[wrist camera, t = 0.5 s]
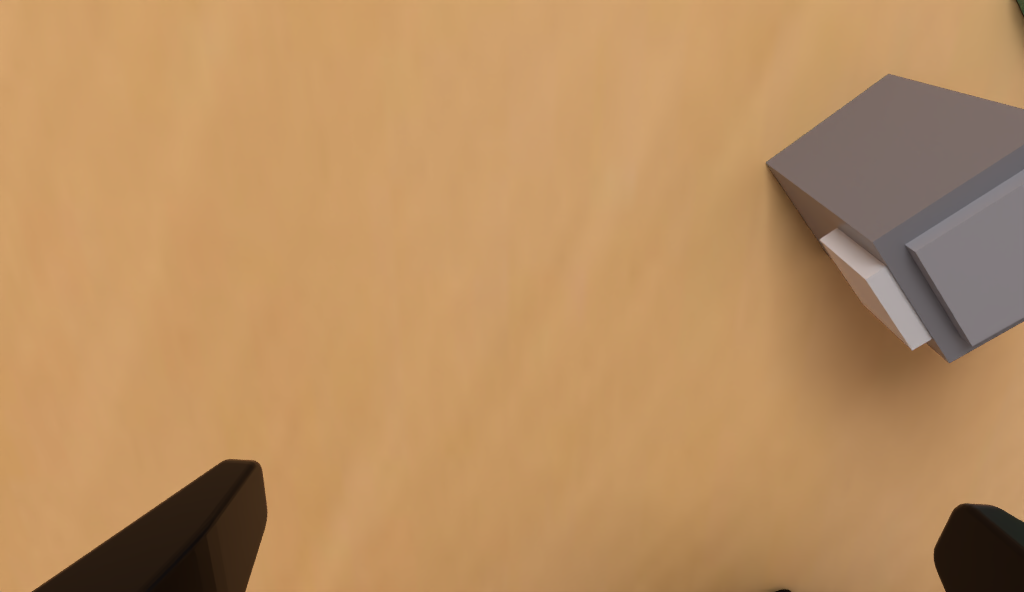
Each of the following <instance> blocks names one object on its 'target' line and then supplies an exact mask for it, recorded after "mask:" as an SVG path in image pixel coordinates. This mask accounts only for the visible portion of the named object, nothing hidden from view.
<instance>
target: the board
mask: <svg viewBox="0 0 1024 592" xmlns="http://www.w3.org/2000/svg"><path fill="white" fill-rule="evenodd" d="M1017 2H1018V4H1019V6H1020V8H1021V11H1022V13H1023V15H1024V0H1017Z"/></svg>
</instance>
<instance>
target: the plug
mask: <svg viewBox="0 0 1024 592" xmlns="http://www.w3.org/2000/svg"><path fill="white" fill-rule="evenodd" d="M766 164H767V165H768V167H769V168H770V170H771V171H772V173H773V174H774V176H775V177H776V179H777V180H778V182H779V183H780V185H781V186H782V188H783V189H784V191H785V192H786V194H787V195H788V197H789V198H790V200H791V201H792V203H793V204H794V206H795V207H796V209H797V210H798V212H799V213H800V215H801V216H802V218H803V219H804V220H805V222H806V223H807V225H808V226H809V228H810V229H811V231H812V232H813V234H814V235H815V237H816V238H817V240H818V241H819V243H820V244H821V246H822V247H823V249H824V250H825V252H826V253H827V255H828V256H829V257H830V258H832V259H833V261H834V262H835V264H836V265H837V267H838V268H839V270H840V271H841V273H842V274H843V276H844V277H845V279H846V280H847V282H848V283H849V285H850V286H851V288H852V289H853V291H854V292H855V293H856V295H857V296H858V298H859V299H860V301H861V302H862V304H863V305H864V306H865V307H866V308H868V309H869V310H870V311H871V312H872V313H873V314H874V315H875V316H876V317H877V318H878V319H879V320H880V321H881V322H882V323H883V324H885V325H886V326H887V327H888V328H889V329H890V330H891V331H892V332H893V333H894V334H895V335H896V336H897V337H898V338H899V339H900V340H902V341H903V342H904V343H905V344H906V345H907V346H908V347H909V348H910V349H911V350H914V349H916V348H917V347H919V346H921V345H922V344H924V343H927V344H928V345H929V346H930V347H932V348H933V349H934V350H935V351H936V352H937V353H938V354H939V355H941V356H942V357H943V358H944V359H945V360H946V361H947V362H948V363H951V362H952V361H954V360H956V359H958V358H960V357H961V356H963V355H965V354H967V353H968V352H970V351H972V350H974V349H975V348H977V347H979V346H981V345H983V344H984V343H986V342H988V341H990V340H991V339H993V338H995V337H997V336H999V335H1000V334H1002V333H1004V332H1006V331H1007V330H1009V329H1011V328H1013V327H1014V326H1016V325H1018V324H1020V323H1022V322H1023V321H1024V109H1021V108H1017V107H1013V106H1009V105H1005V104H1002V103H998V102H994V101H990V100H986V99H982V98H979V97H975V96H971V95H967V94H963V93H960V92H956V91H952V90H948V89H944V88H940V87H937V86H933V85H929V84H925V83H921V82H917V81H914V80H910V79H906V78H902V77H898V76H895V75H891V74H888V75H886V76H885V77H883V78H882V79H881V80H879V81H878V82H877V83H875V84H874V85H872V86H871V87H870V88H868V89H867V90H865V91H864V92H863V93H861V94H860V95H859V96H857V97H856V98H854V99H853V100H852V101H850V102H849V103H847V104H846V105H845V106H843V107H842V108H841V109H839V110H838V111H836V112H835V113H834V114H832V115H831V116H829V117H828V118H827V119H825V120H824V121H823V122H821V123H820V124H818V125H817V126H816V127H814V128H813V129H811V130H810V131H809V132H807V133H806V134H805V135H803V136H802V137H800V138H799V139H798V140H796V141H795V142H793V143H792V144H791V145H789V146H788V147H787V148H785V149H784V150H782V151H781V152H780V153H778V154H777V155H775V156H774V157H773V158H771V159H770V160H769V161H767V162H766Z"/></svg>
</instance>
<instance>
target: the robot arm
mask: <svg viewBox="0 0 1024 592" xmlns="http://www.w3.org/2000/svg"><path fill="white" fill-rule="evenodd" d="M266 521H267V503H266V495H265V488H264V480H263V472H262V468H261V466H260V464H259V463H258V462H256V461H254V460H237V459H228V460H225V461H222V462H221V463H219V464H218V465H216V466H215V467H213V468H212V469H210V470H209V471H207V472H206V473H204V474H203V475H202V476H200V477H199V478H197V479H196V480H194V481H193V482H191V483H190V484H188V485H187V486H186V487H184V488H183V489H181V490H180V491H178V492H177V493H175V494H174V495H172V496H171V497H169V498H168V499H167V500H165V501H164V502H162V503H161V504H159V505H158V506H156V507H155V508H153V509H152V510H150V511H149V512H148V513H146V514H145V515H143V516H142V517H140V518H139V519H137V520H136V521H134V522H133V523H131V524H130V525H129V526H127V527H126V528H124V529H123V530H121V531H120V532H118V533H117V534H115V535H114V536H112V537H111V538H110V539H108V540H107V541H105V542H104V543H102V544H101V545H99V546H98V547H96V548H95V549H93V550H92V551H91V552H89V553H88V554H86V555H85V556H83V557H82V558H80V559H79V560H77V561H76V562H74V563H73V564H72V565H70V566H69V567H67V568H66V569H64V570H63V571H61V572H60V573H58V574H57V575H55V576H54V577H53V578H51V579H50V580H48V581H47V582H45V583H44V584H42V585H41V586H39V587H38V588H36V589H35V590H34V591H32V592H245V591H246V588H247V584H248V581H249V578H250V575H251V572H252V568H253V565H254V562H255V559H256V556H257V552H258V549H259V546H260V543H261V540H262V536H263V533H264V530H265V526H266ZM934 563H935V567H936V570H937V572H938V575H939V577H940V579H941V582H942V584H943V586H944V589H945V591H946V592H1024V522H1022V521H1021V520H1019V519H1017V518H1015V517H1014V516H1012V515H1010V514H1009V513H1007V512H1005V511H1004V510H1002V509H1000V508H998V507H995V506H992V505H983V504H960V505H959V506H957V507H956V508H955V509H954V510H953V511H952V513H951V515H950V517H949V519H948V521H947V523H946V525H945V527H944V529H943V532H942V534H941V536H940V538H939V540H938V542H937V544H936V546H935V548H934ZM776 592H791V591H789V590H778V591H776Z"/></svg>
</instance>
